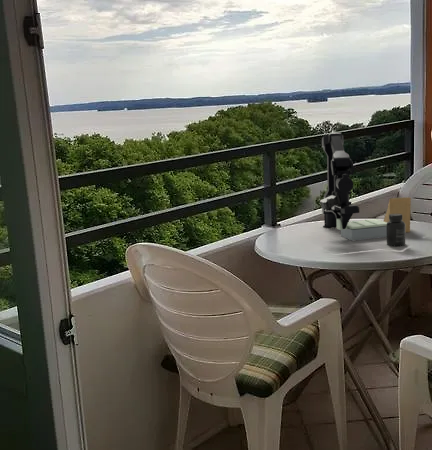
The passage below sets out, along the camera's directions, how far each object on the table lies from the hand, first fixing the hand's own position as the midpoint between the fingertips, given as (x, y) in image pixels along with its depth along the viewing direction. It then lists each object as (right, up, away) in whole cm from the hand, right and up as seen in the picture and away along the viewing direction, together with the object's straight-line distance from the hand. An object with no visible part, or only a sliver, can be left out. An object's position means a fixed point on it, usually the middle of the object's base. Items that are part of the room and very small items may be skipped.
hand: (342, 228), depth 254 cm
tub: (+10, -4, +3) cm, 11 cm away
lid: (+8, 0, +2) cm, 8 cm away
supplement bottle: (+18, -7, -13) cm, 23 cm away
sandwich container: (+25, -1, +15) cm, 29 cm away
